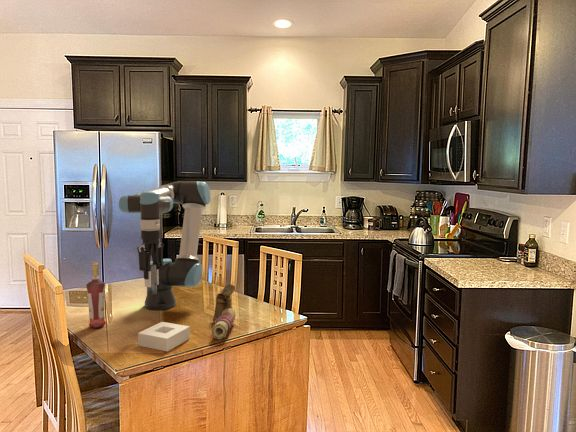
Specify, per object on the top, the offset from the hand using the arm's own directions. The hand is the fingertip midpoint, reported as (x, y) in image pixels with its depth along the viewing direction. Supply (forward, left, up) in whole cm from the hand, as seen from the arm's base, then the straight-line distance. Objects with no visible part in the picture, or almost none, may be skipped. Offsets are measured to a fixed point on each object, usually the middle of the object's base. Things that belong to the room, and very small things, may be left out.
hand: (151, 285), depth 180 cm
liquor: (-26, -5, -20) cm, 33 cm away
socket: (+12, -7, -20) cm, 24 cm away
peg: (0, 0, -3) cm, 3 cm away
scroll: (+26, +13, -20) cm, 36 cm away
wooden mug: (+20, +25, -20) cm, 38 cm away
